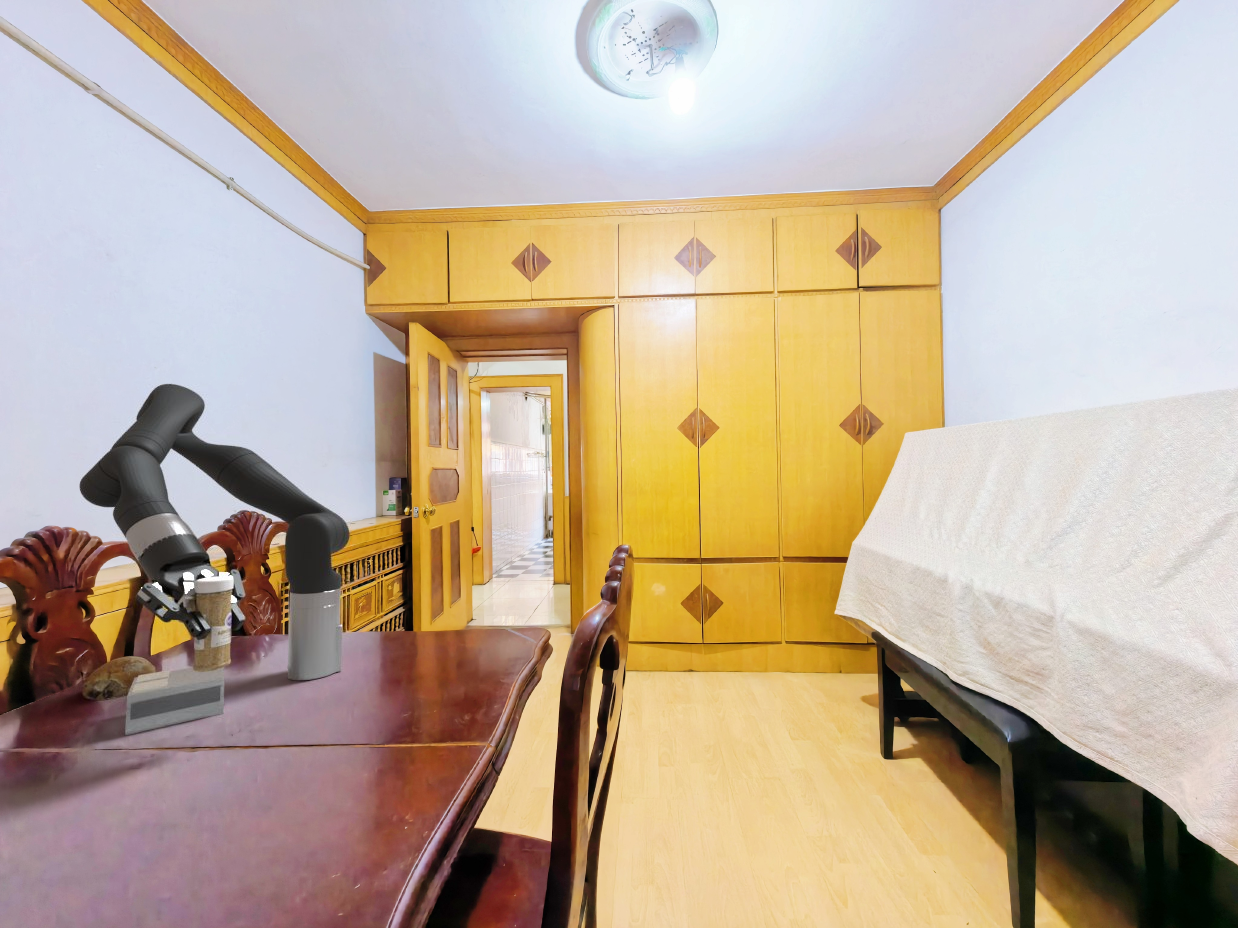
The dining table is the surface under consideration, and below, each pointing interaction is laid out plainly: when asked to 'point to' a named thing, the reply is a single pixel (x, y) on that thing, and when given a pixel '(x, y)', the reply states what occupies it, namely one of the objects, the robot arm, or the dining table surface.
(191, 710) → the box
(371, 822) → the dining table surface
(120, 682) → the bread roll
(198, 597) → the sprinkles bottle
